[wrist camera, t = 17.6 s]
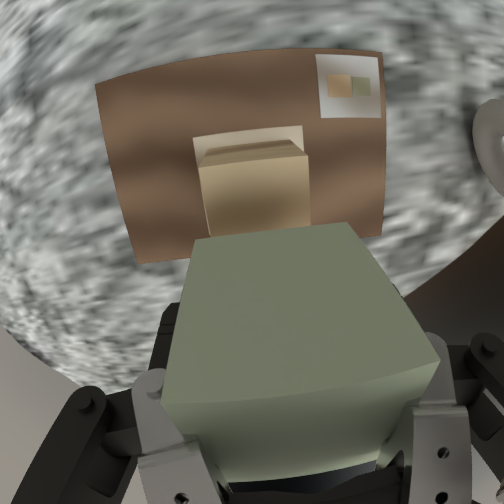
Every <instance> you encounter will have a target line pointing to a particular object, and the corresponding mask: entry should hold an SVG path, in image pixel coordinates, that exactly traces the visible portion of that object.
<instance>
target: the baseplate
mask: <svg viewBox="0 0 504 504" xmlns="http://www.w3.org/2000/svg"><path fill="white" fill-rule="evenodd" d="M95 88H96V95H97V101H98V107H99V113H100V119H101V124H102V129H103V134H104V139H105V144H106V149H107V154H108V158H109V162H110V167H111V171H112V175H113V179H114V183H115V187H116V191H117V195H118V199H119V202H120V206H121V210H122V213H123V217H124V220H125V224H126V227H127V230H128V234H129V237H130V240H131V243H132V247H133V250H134V253H135V256H136V259H137V262H138V264H143V263H151V262H159V261H168V260H176V259H185V258H191V255H192V251H193V247H194V243H195V239H203V238H211V236H210V231H209V226H208V220H207V215H206V210H205V204H204V198H203V193H202V187H201V181H200V176H199V170H198V167H199V165H200V163H201V161H202V159H203V158H204V156H205V154H206V152H207V150H208V149H209V148H216V147H224V146H231V145H239V144H248V143H257V142H266V141H277V140H289V139H290V140H291V141H292V142H293V143H294V144H296V145H297V146H298V147H299V148H300V149H301V150H302V151H303V152H305V153H306V154H307V155H308V164H309V185H310V213H311V226H313V225H323V224H332V223H341V222H348V224H349V225H350V226H351V228H352V229H353V230H354V231H355V233H356V234H357V235H358V237H359V238H363V237H371V236H380V235H381V233H382V223H383V210H384V196H385V176H386V102H385V83H384V69H383V58H382V52H373V51H362V50H349V49H325V48H293V49H270V50H256V51H245V52H236V53H227V54H220V55H213V56H206V57H200V58H194V59H189V60H184V61H179V62H174V63H169V64H165V65H160V66H156V67H152V68H148V69H144V70H140V71H137V72H133V73H129V74H126V75H123V76H119V77H116V78H113V79H110V80H107V81H104V82H101V83H98V84H95Z"/></svg>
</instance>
